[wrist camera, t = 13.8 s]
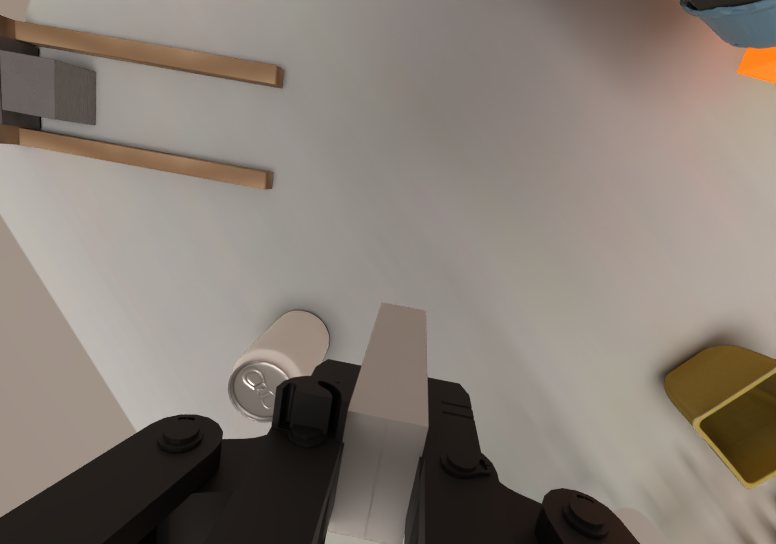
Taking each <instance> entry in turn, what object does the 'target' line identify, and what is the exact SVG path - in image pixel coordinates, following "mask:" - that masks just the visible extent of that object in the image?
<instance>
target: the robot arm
mask: <svg viewBox="0 0 776 544" xmlns="http://www.w3.org/2000/svg"><path fill="white" fill-rule="evenodd" d="M680 5H681V6H682V7H683V9H684V10H685V11H686V12H688V13H689V14H691V15H695V16H698V17H699V18H700V19H701V20H702V21H703V22H704V23H706V24H707V25H708V26H709V27H710V28H711V29H712V30H713V31H714V32H715V33H716V34H717V35H718V36H719V37H720V38H721V39H722V40H724V41H725V42H727V43H729V44H731V45H733V46H735V47H745V48H754V49H765V48H771V47H776V0H680ZM471 408H472V407H471V402H470V397H469V395H468V393H467V392H466V391H465V390H464V389H463V387H462V386H461V385H460V384H458V383H453V382H448V381H443V380H438V379H433V378H428V377H427V332H426V311H424V310H419V309H414V308H409V307H404V306H398V305H393V304H388V303H383V302H382V303H381V306H380V309H379V313H378V316H377V319H376V322H375V325H374V328H373V332H372V335H371V338H370V341H369V344H368V347H367V351H366V354H365V357H364V360H363V363H362V366H360V365H355V364H350V363H345V362H340V361H335V360H330V359H328V360H326V361H324V362H323V363H321V364H319V365H318V366H316V367H315V369H314V371H313V373H312V375H311V376H299V377H293V378H290V379H288V380H285V381H283V382H282V383H281V384H279V385H278V386H277V387H276V394H275V402H274V411H273V419H272V427H271V429H270V431H269V432H268V434H267V435H264V436H260V437H256V438H248V439H222V436H223V431H222V429H221V428H220V426H219V424H218V423H216V422H215V421H213V420H212V419H210V418H208V417H204V416H199V415H176V416H172V417H167V418H163V419H161V420H159V421H157V422H155V423H152V424H150V425H149V426H147V427H145V428H144V429H142V430H141V431H139V432H137V433H136V434H134V435H133V436H131V437H129V438H128V439H126V440H124V441H123V442H121V443H120V444H118V445H116V446H115V447H113V448H112V449H110V450H108V451H107V452H105V453H104V454H102V455H100V456H99V457H97V458H95V459H94V460H92V461H91V462H89V463H88V464H86V465H84V466H83V467H81V468H79V469H78V470H76V471H75V472H73V473H71V474H70V475H68V476H67V477H65V478H63V479H62V480H60V481H59V482H57V483H55V484H54V485H52V486H51V487H49V488H47V489H46V490H44V491H42V492H41V493H39V494H38V495H36V496H34V497H33V498H31V499H29V500H28V501H26V502H25V503H23V504H22V505H20V506H18V507H17V508H15V509H13V510H12V511H10V512H9V513H7V514H5V515H4V516H2V517H0V544H325V538H326V533H327V531H329V532H333V533H338V534H343V535H347V536H352V537H357V538H361V539H366V540H371V541H375V542H380V543H385V544H402V543H403V538H404V534H405V541H404V544H640V543H639V542H638V541H637V540H636V539H635V537H634V536H633V535H632V534H631V532H630V531H629V530H628V529H627V528H626V526H625V525H624V524H623V523H622V521H621V520H620V519H619V518H618V517H617V516H616V515H615V514H614V513H613V512H612V511H611V510H610V509H609V508H608V507H606V506H605V505H603V504H602V503H600V502H599V501H597V500H596V499H594V498H593V497H590V496H588V495H586V494H584V493H581V492H579V491H575V490H569V489H564V488H561V489H555V490H551V491H550V492H548V493H547V494H546V495H545V496H544V499H543V502H542V504H541V503H539V502H536V501H534V500H532V499H530V498H527V497H525V496H523V495H520V494H518V493H516V492H514V491H513V490H511V489H509V488H507V487H506V486H504V485H503V484H502V483H500V482H499V479H498V475H497V472H496V470H495V468H494V466H493V464H492V462H491V461H490V460H489V459H488V458H487V457H486V456H485V455H484V454H482V453H481V450H480V445H479V440H478V436H477V431H476V426H475V421H474V420H473V418H474V416H473V411H472V410H471Z"/></svg>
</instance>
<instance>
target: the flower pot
mask: <svg viewBox="0 0 776 544" xmlns="http://www.w3.org/2000/svg"><path fill="white" fill-rule="evenodd" d="M664 388H665V391H666V394H667V396H668V397H669V399H670V400H671V402H672V403H673V404H674V405H675V406H676V408H677V409H678V410H679V411H680V412H681V413H682V415H683V416H684V417H685V418H686V419H687V420H688V421H689V423H690V424H691V425H692V426H693V427H694V429H695V430H696V431H697V432H698V433H699V434H700V435H701V436H702V438H703V439H704V440H705V441H706V442H707V444H708V445H709V446H710V447H711V449H712V450H713V451H714V452H715V453H716V454H717V456H718V457H719V458H720V459H721V460H722V462H723V463H724V464H725V465H726V466H727V467H728V468H729V470H730V471H731V472H732V473H733V474H734V475H735V477H736V478H737V479H738V480H739V481H740V483H741V484H742V485H743V486H744V487H745V488H747V489H752V488H754V487H756V486H758V485H760V484H762V483H763V482H765V481H767V480H768V479H770V478H772V477H774V476H775V475H776V359H773V358H770V357H768V356H765V355H762V354H760V353H757V352H754V351H752V350H749V349H746V348H743V347H738V346H731V345H723V346H715V347H711V348H707V349H704V350H702V351H701V352H699V353H698V354H696V355H695V356H694V357H692V358H691V359H689V360H688V361H686V362H685V363H683V364H682V365H680V366H679V367H677V368H676V369H674V370H673V371H671V372H670V373H668V374H667V375H666V377H665V381H664Z"/></svg>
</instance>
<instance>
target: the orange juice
mask: <svg viewBox="0 0 776 544" xmlns="http://www.w3.org/2000/svg"><path fill="white" fill-rule="evenodd" d="M737 73H739V74H743V75H747V76H750V77H754V78H758V79H761V80H765V81H768V82H772V83H776V47H771V48H765V49H754V48H747V51H746V53H745V55H744V57H743V60H742V62H741V64H740V66H739V69H738V71H737Z"/></svg>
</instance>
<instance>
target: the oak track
mask: <svg viewBox="0 0 776 544" xmlns="http://www.w3.org/2000/svg"><path fill="white" fill-rule="evenodd" d="M35 46H41V47H46V48H52V49H58V50H64V51H70V52H75V53H81V54H87V55H93V56H98V57H104V58H110V59H116V60H121V61H127V62H133V63H139V64H144V65H150V66H156V67H162V68H168V69H173V70H179V71H185V72H191V73H196V74H202V75H208V76H214V77H219V78H225V79H231V80H237V81H242V82H248V83H254V84H260V85H265V86H271V87H277V88H282V85H283V75H284V70H282V69H281V68H280V67H278V66H277V65H271V64H265V63H260V62H254V61H248V60H242V59H236V58H230V57H225V56H219V55H213V54H207V53H201V52H196V51H190V50H184V49H178V48H172V47H166V46H161V45H155V44H149V43H143V42H137V41H131V40H126V39H120V38H114V37H108V36H102V35H96V34H91V33H85V32H79V31H73V30H67V29H61V28H56V27H50V26H44V25H38V24H32V23H26V22H20V21H15V20H12V19H9V18H6V17H4V16H1V15H0V50H3V51H8V52H14V53H20V54H25V55H31V56H36V57H38V48H36V47H35ZM37 128H40V116H34V115H29V114H24V113H18V112H13V111H7V110H2V92H1V68H0V143H2V144H17V145H24V146H30V147H35V148H41V149H46V150H52V151H57V152H63V153H68V154H74V155H79V156H85V157H90V158H95V159H101V160H106V161H112V162H117V163H123V164H128V165H134V166H139V167H145V168H150V169H156V170H161V171H167V172H172V173H177V174H183V175H188V176H194V177H199V178H205V179H210V180H216V181H221V182H227V183H232V184H238V185H243V186H249V187H254V188H259V189H272V181H273V173H272V172H267V171H261V170H256V169H250V168H245V167H239V166H234V165H228V164H223V163H217V162H212V161H206V160H201V159H195V158H190V157H184V156H179V155H173V154H168V153H162V152H157V151H151V150H146V149H140V148H135V147H129V146H124V145H118V144H112V143H107V142H101V141H96V140H90V139H85V138H79V137H74V136H68V135H63V134H57V133H52V132H46V131H41V130H37Z"/></svg>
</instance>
